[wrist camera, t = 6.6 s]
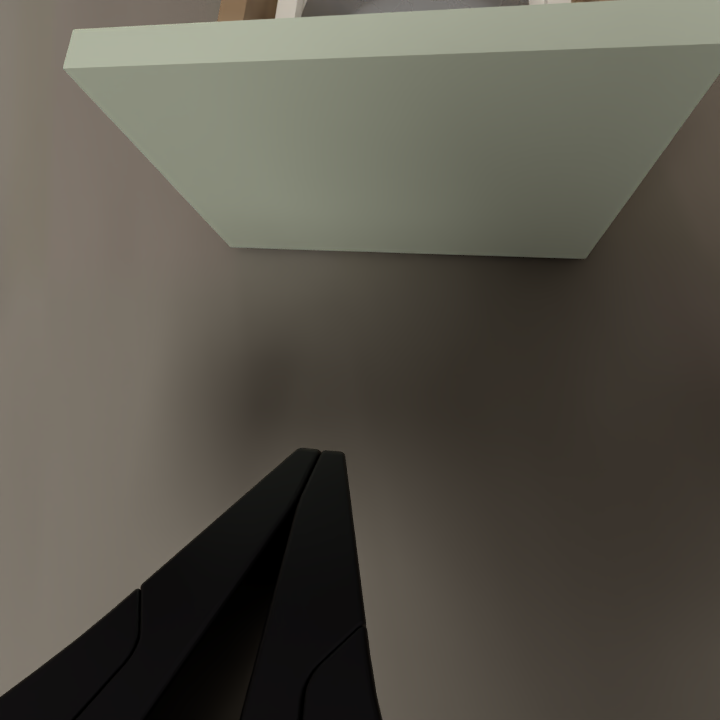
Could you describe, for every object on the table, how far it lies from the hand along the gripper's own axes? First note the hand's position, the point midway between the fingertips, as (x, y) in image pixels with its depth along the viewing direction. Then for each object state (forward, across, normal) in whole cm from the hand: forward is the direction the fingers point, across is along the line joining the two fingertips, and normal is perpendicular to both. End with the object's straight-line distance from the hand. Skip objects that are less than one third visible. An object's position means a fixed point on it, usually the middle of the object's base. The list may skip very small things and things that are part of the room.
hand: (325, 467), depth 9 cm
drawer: (+16, 0, -5) cm, 16 cm away
